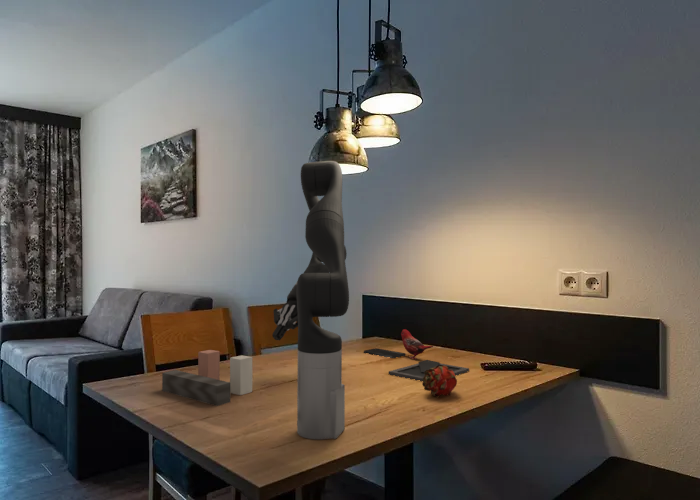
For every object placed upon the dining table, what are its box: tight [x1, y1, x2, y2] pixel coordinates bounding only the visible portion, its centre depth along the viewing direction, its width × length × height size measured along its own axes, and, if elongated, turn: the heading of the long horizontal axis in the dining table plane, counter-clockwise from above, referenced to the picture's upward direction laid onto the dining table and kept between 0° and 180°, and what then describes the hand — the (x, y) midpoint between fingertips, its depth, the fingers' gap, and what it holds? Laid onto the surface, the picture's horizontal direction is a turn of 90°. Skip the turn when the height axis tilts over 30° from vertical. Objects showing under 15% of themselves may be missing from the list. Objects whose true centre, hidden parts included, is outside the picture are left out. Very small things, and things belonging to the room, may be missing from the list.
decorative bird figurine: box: [400, 328, 434, 360], centre depth 179 cm, size 3×18×10 cm, turn 32°
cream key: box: [229, 354, 253, 396], centre depth 132 cm, size 4×4×9 cm
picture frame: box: [388, 359, 470, 382], centre depth 160 cm, size 16×2×21 cm
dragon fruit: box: [421, 365, 458, 398], centre depth 135 cm, size 8×8×12 cm
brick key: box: [197, 349, 221, 380], centre depth 140 cm, size 4×4×9 cm
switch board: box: [161, 369, 231, 407], centre depth 133 cm, size 23×16×6 cm
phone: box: [363, 347, 407, 359], centre depth 189 cm, size 8×1×15 cm
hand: (275, 338), depth 142 cm, fingers closed
